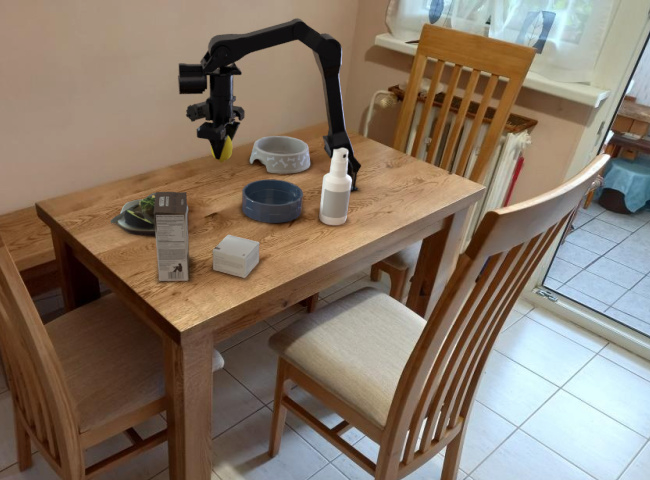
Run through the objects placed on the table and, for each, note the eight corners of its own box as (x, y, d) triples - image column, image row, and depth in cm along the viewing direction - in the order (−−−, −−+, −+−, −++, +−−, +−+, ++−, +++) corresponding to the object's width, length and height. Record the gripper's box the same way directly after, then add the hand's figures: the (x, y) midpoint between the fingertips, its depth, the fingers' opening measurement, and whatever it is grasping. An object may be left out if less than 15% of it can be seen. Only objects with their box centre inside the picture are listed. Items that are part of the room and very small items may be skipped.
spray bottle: (328, 228, 141) (337, 157, 130) (313, 216, 145) (320, 147, 135) (351, 222, 143) (361, 153, 133) (336, 211, 148) (344, 143, 138)
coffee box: (160, 258, 127) (155, 190, 117) (189, 258, 127) (187, 190, 118) (158, 281, 119) (152, 211, 110) (189, 281, 120) (186, 211, 110)
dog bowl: (279, 146, 183) (280, 129, 180) (322, 164, 173) (323, 147, 169) (238, 159, 174) (238, 142, 171) (281, 179, 163) (282, 161, 160)
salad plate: (124, 198, 150) (122, 181, 147) (193, 200, 150) (192, 184, 147) (107, 235, 134) (105, 217, 132) (184, 237, 134) (183, 220, 132)
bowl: (286, 193, 156) (287, 176, 153) (311, 218, 144) (313, 200, 141) (233, 201, 151) (233, 183, 148) (255, 228, 139) (256, 209, 136)
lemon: (229, 167, 147) (229, 137, 142) (208, 165, 148) (208, 134, 143) (234, 159, 152) (234, 129, 147) (214, 157, 152) (213, 127, 148)
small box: (259, 261, 127) (260, 241, 124) (244, 279, 121) (245, 258, 118) (228, 253, 129) (228, 233, 126) (211, 270, 124) (211, 249, 121)
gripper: (204, 79, 149) (205, 138, 158) (174, 100, 134) (178, 163, 143) (245, 84, 146) (244, 144, 155) (219, 105, 131) (220, 170, 141)
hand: (221, 155), depth 149 cm, fingers closed on lemon, 5 cm apart
